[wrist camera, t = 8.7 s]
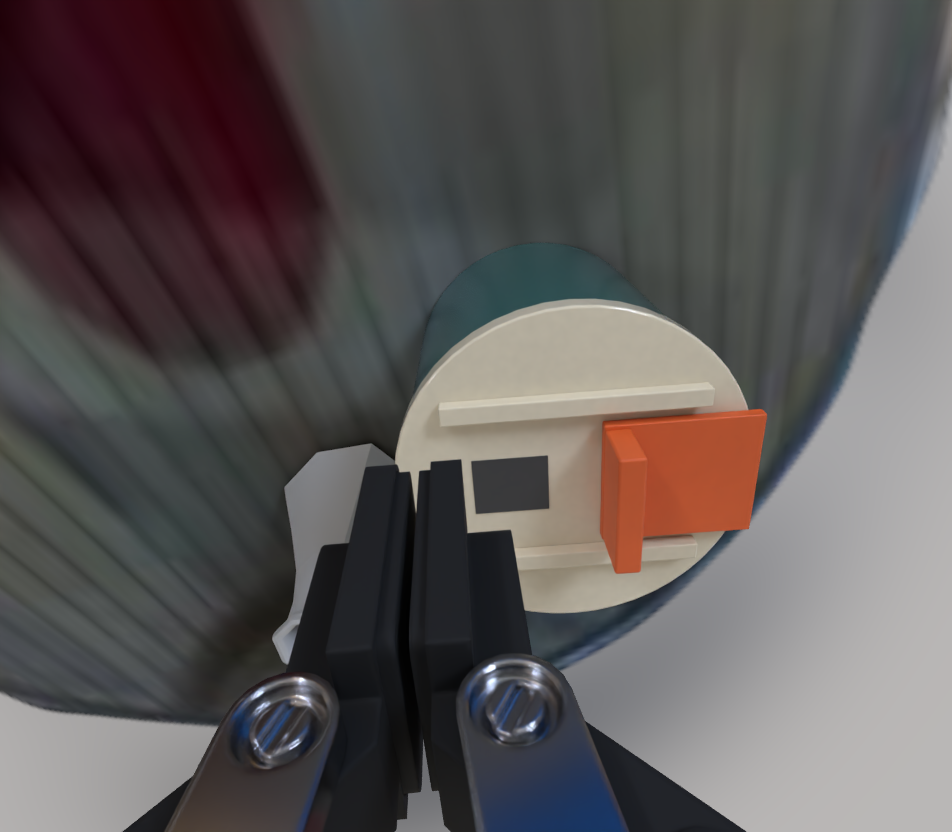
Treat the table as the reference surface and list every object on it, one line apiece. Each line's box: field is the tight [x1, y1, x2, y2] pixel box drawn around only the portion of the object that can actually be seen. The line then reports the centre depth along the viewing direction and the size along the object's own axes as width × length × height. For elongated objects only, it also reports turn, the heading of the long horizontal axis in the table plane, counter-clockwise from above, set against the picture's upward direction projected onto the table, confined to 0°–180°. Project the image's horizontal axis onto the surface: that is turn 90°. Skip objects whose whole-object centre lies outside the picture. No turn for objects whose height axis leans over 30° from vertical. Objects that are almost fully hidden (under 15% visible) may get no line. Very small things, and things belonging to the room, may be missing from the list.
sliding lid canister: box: [395, 243, 748, 613], centre depth 23 cm, size 11×11×11 cm
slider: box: [600, 409, 767, 574], centre depth 18 cm, size 5×4×2 cm
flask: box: [272, 443, 395, 665], centre depth 27 cm, size 7×7×10 cm
